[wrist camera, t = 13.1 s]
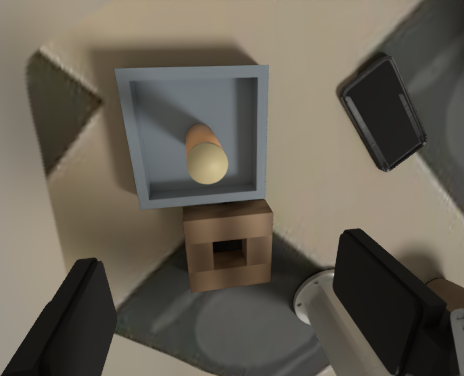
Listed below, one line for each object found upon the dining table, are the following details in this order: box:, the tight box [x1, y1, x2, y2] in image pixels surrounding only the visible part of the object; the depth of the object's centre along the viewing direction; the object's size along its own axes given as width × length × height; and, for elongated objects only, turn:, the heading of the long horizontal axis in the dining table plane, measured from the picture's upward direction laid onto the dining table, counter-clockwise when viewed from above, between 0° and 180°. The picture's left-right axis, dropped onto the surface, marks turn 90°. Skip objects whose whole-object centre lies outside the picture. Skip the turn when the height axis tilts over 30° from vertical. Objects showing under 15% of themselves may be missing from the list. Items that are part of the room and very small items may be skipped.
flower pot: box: [426, 278, 464, 313], centre depth 48 cm, size 12×11×10 cm
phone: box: [340, 56, 427, 172], centre depth 36 cm, size 8×1×15 cm
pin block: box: [183, 200, 273, 293], centre depth 38 cm, size 12×12×4 cm
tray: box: [114, 65, 269, 210], centre depth 32 cm, size 16×16×4 cm
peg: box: [186, 124, 228, 184], centre depth 27 cm, size 4×4×11 cm
